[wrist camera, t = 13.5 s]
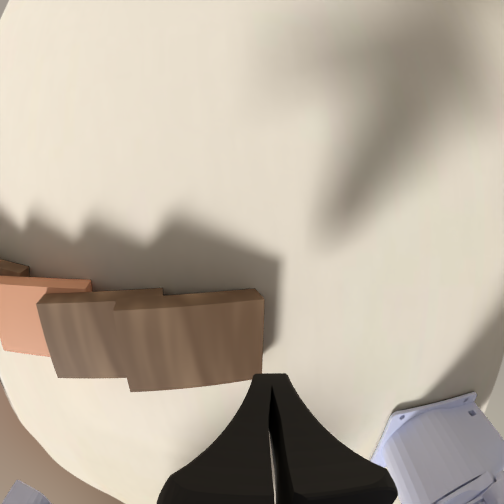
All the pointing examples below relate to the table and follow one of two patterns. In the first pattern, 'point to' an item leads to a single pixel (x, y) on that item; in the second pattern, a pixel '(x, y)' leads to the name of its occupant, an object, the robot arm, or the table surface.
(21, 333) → the domino
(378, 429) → the table surface
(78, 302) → the domino
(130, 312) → the domino
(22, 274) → the domino
